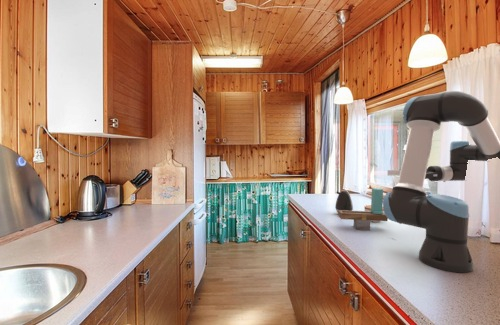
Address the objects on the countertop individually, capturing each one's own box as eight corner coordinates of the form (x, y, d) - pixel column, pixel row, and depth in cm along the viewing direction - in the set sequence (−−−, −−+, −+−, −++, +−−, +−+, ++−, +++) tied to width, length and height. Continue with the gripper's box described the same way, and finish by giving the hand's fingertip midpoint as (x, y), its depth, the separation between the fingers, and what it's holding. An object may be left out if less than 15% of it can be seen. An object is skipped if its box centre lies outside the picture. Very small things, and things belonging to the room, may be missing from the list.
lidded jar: (380, 218, 154) (380, 202, 153) (388, 223, 143) (388, 206, 143) (361, 217, 155) (361, 202, 154) (367, 222, 144) (368, 205, 144)
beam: (387, 231, 129) (387, 215, 128) (340, 229, 131) (341, 213, 131) (381, 227, 136) (382, 211, 135) (337, 225, 138) (338, 210, 138)
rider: (383, 220, 129) (384, 189, 128) (374, 219, 129) (375, 189, 129) (378, 216, 135) (379, 188, 135) (370, 216, 136) (371, 187, 135)
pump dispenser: (331, 212, 166) (332, 189, 166) (346, 212, 168) (347, 188, 168) (340, 216, 156) (341, 191, 156) (356, 216, 158) (356, 191, 158)
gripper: (457, 184, 117) (408, 185, 118) (422, 177, 142) (382, 178, 143) (457, 168, 117) (408, 169, 118) (423, 163, 141) (382, 164, 142)
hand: (394, 174), depth 130 cm, fingers open, 13 cm apart
